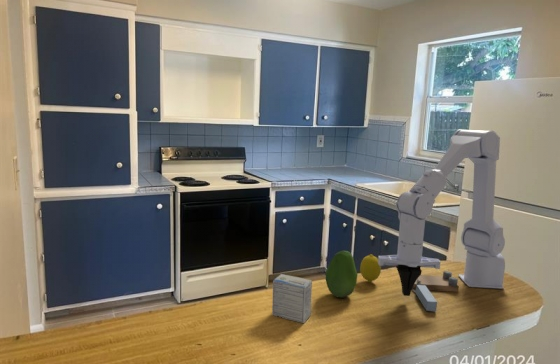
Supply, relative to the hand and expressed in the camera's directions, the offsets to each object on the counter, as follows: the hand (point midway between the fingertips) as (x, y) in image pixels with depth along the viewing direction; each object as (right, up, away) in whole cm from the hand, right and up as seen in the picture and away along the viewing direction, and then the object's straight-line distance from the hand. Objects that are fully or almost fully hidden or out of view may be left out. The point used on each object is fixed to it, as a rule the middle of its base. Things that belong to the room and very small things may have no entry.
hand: (405, 294), depth 99 cm
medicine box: (-29, -3, -8) cm, 30 cm away
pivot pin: (+5, -1, +7) cm, 9 cm away
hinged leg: (+5, -2, +1) cm, 5 cm away
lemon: (-6, 0, +12) cm, 14 cm away
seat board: (+11, -1, +11) cm, 16 cm away
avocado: (-16, -1, +3) cm, 16 cm away
